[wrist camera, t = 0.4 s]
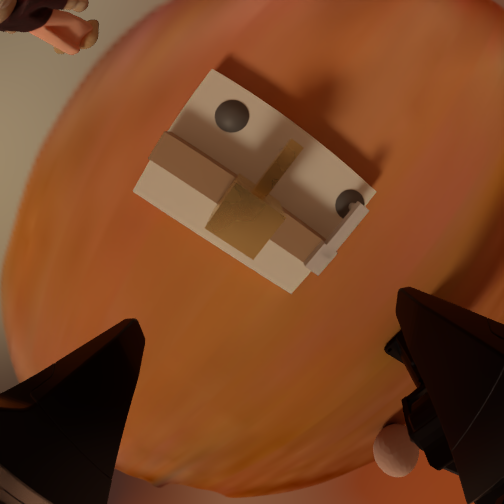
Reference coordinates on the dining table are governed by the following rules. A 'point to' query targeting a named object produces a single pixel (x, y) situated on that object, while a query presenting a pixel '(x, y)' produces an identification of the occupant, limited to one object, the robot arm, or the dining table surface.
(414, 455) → the egg
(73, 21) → the grandmother figurine
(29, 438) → the robot arm
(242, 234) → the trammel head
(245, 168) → the gauge board
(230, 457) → the dining table surface
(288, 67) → the dining table surface
